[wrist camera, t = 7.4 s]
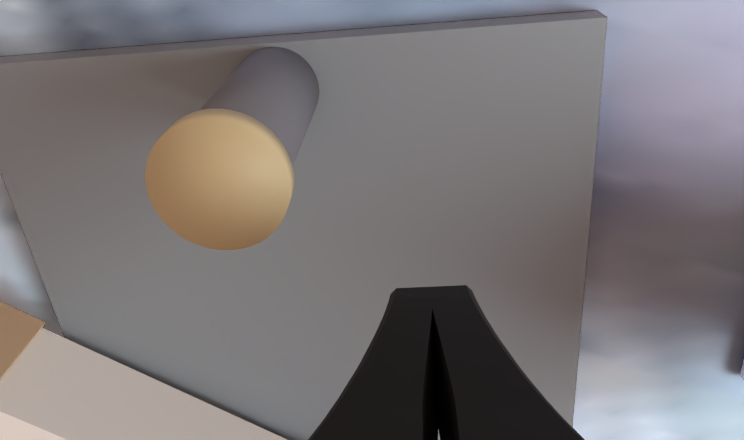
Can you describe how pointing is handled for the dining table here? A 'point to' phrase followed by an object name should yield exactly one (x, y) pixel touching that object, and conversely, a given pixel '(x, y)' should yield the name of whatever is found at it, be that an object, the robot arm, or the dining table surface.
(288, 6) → the dining table surface
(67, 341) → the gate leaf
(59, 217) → the gate frame
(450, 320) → the robot arm
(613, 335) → the dining table surface
